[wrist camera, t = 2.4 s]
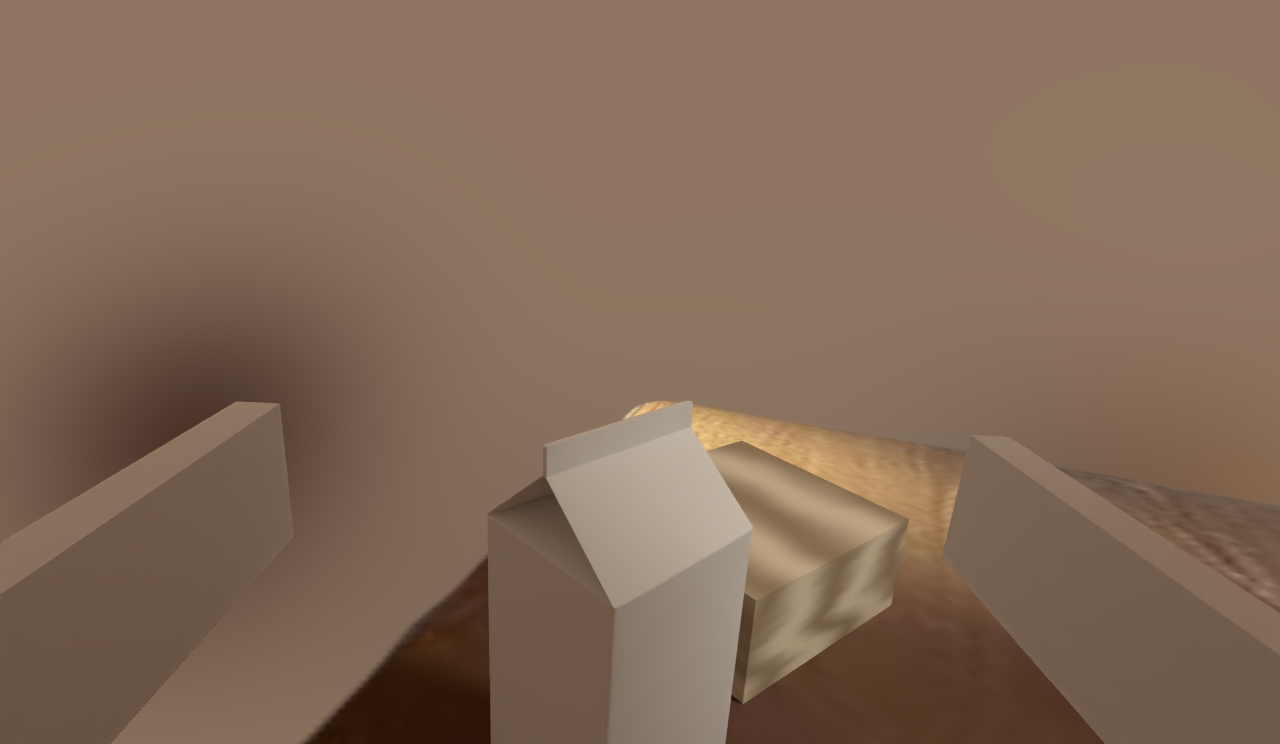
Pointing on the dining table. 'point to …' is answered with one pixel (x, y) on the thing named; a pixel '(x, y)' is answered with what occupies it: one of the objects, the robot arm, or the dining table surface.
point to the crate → (804, 563)
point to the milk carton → (617, 591)
